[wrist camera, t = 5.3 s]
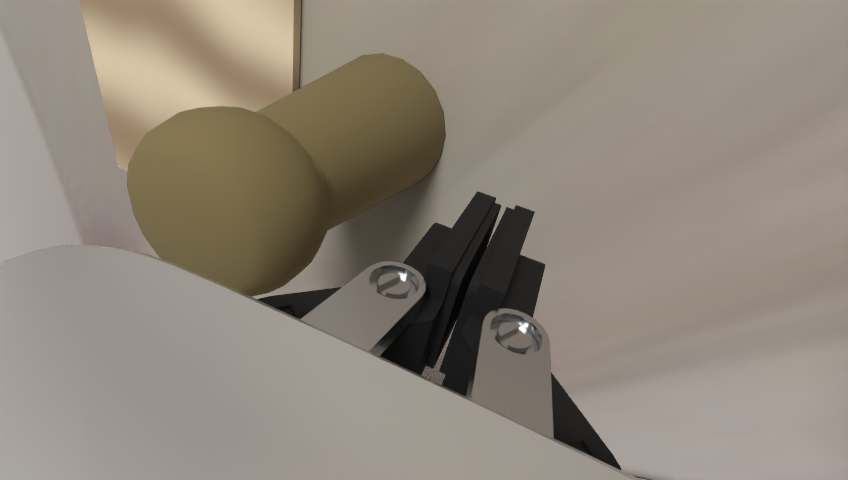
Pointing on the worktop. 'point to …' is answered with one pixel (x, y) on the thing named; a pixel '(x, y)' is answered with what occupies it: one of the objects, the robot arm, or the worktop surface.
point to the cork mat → (188, 58)
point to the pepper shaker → (282, 171)
